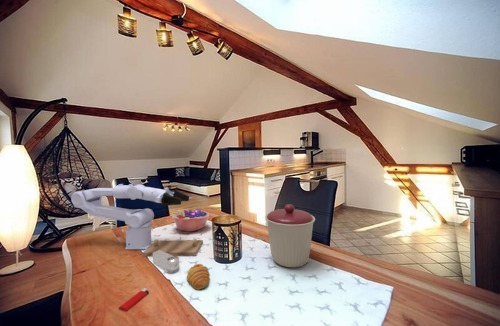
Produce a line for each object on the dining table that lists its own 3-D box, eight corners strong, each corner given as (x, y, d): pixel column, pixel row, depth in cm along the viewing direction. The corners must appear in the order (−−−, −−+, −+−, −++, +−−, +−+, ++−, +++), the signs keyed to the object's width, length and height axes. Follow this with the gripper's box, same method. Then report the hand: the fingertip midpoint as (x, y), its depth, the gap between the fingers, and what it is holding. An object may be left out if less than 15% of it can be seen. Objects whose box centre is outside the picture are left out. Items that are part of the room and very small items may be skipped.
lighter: (118, 306, 54) (143, 287, 61) (118, 310, 54) (143, 291, 61) (126, 308, 53) (151, 289, 60) (127, 313, 53) (151, 293, 61)
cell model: (180, 224, 122) (180, 205, 121) (213, 224, 119) (213, 205, 119) (166, 235, 105) (165, 212, 104) (204, 236, 103) (204, 213, 102)
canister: (314, 278, 66) (314, 212, 65) (259, 269, 72) (259, 208, 71) (315, 253, 83) (315, 200, 82) (271, 247, 89) (271, 198, 88)
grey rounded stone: (151, 264, 76) (151, 253, 76) (161, 259, 80) (161, 249, 80) (171, 274, 69) (171, 263, 69) (181, 269, 72) (181, 258, 72)
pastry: (213, 287, 63) (213, 275, 62) (190, 294, 60) (190, 281, 59) (206, 271, 71) (205, 260, 71) (185, 277, 68) (185, 265, 68)
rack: (142, 256, 82) (142, 246, 82) (156, 243, 94) (156, 234, 94) (195, 256, 82) (195, 246, 82) (202, 243, 94) (202, 234, 94)
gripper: (146, 188, 83) (178, 193, 82) (165, 184, 98) (192, 188, 96) (144, 205, 84) (176, 211, 82) (163, 198, 98) (190, 203, 96)
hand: (185, 200), depth 89 cm, fingers open, 7 cm apart
